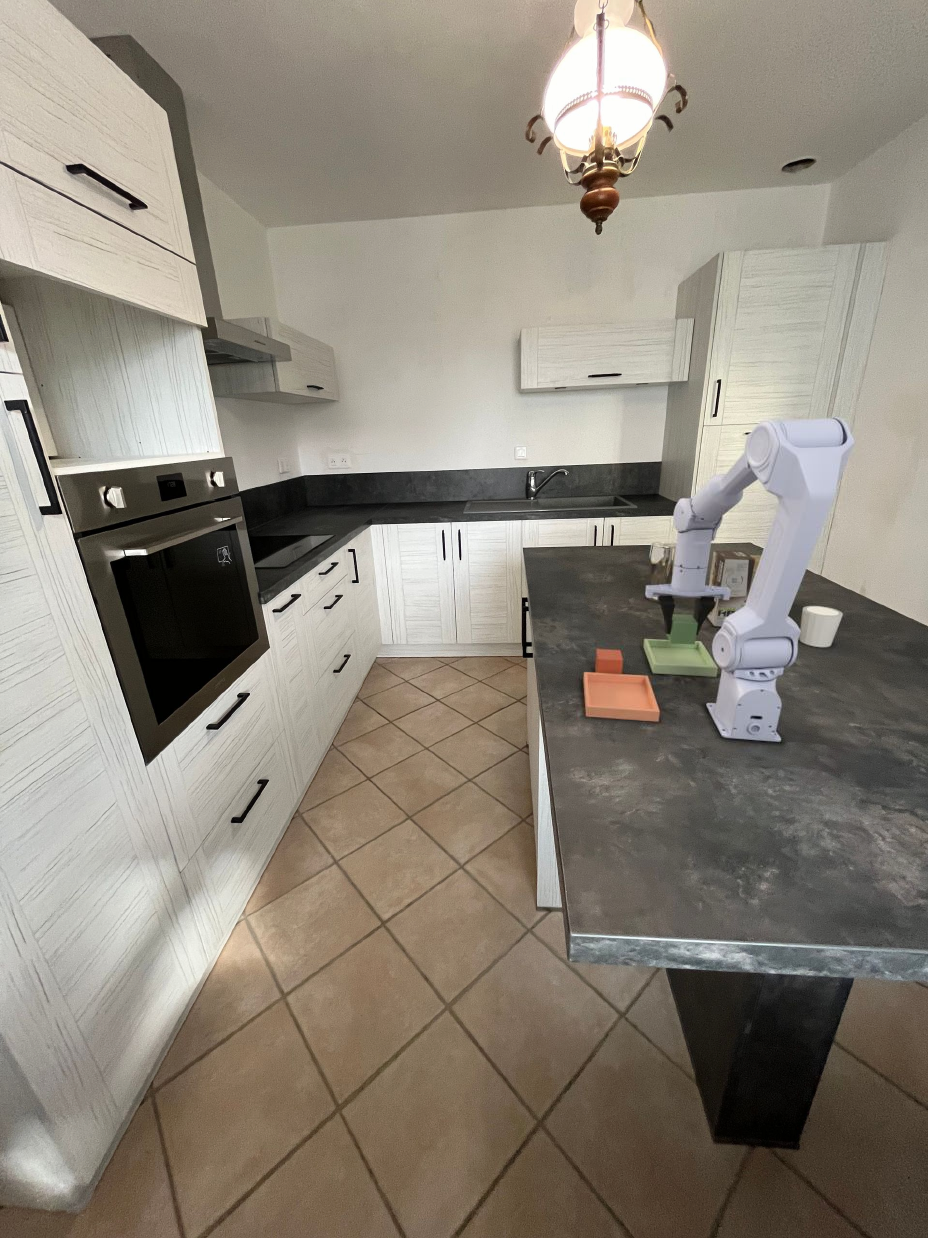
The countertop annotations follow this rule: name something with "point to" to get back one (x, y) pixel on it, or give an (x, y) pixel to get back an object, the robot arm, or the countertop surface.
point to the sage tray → (679, 658)
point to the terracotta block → (609, 661)
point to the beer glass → (661, 564)
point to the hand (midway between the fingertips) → (681, 632)
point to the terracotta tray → (620, 697)
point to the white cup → (819, 625)
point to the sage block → (683, 629)
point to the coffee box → (730, 582)
